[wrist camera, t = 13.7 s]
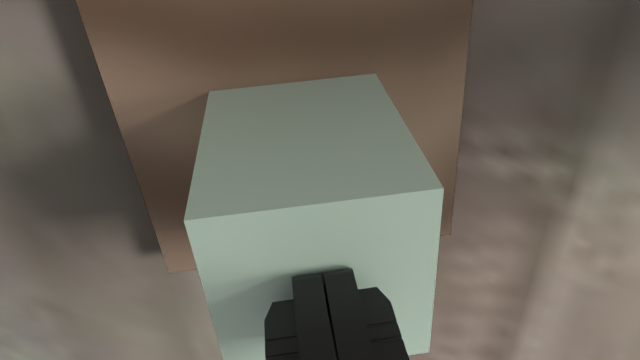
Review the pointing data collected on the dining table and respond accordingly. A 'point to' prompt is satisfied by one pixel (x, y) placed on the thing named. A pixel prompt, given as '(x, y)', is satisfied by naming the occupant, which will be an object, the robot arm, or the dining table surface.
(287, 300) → the robot arm
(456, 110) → the walnut board
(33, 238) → the dining table surface
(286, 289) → the sage cap
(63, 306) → the dining table surface
